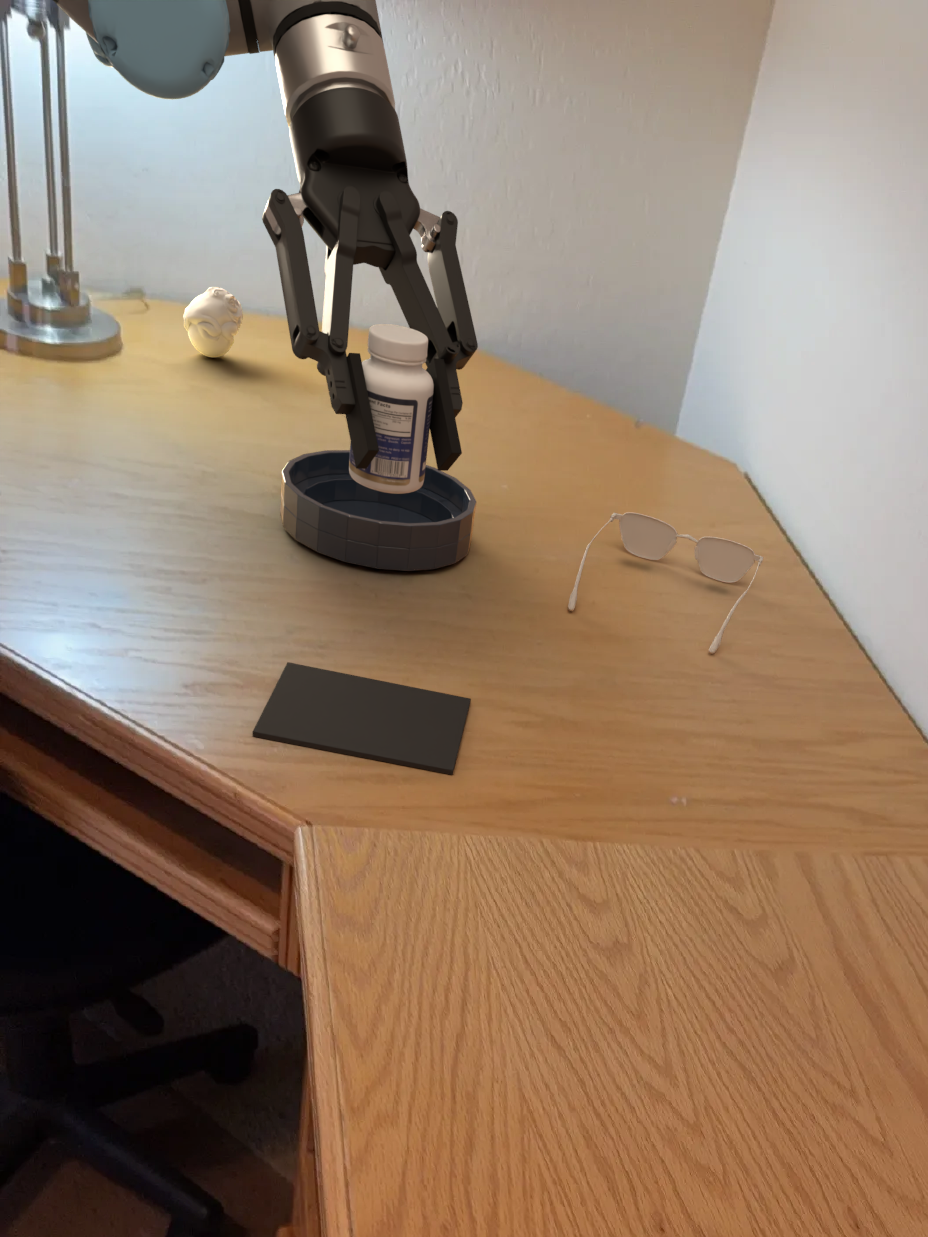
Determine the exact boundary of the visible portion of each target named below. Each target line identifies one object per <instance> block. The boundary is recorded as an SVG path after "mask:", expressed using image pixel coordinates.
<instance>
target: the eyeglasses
mask: <svg viewBox="0 0 928 1237" xmlns="http://www.w3.org/2000/svg"><path fill="white" fill-rule="evenodd" d="M614 520H617V521H618V527H619V532H620V533H619V534H620V537H621V541H622V544H623V547H624V550H626V551H627V552H628V553H630V554H631V555H633V556H635V557H638V558H641V559H645V560H650V561H660V560H662V559H663V558H665V556H666V555H667V554H668V553H670V552H671V551H672V550H673V549H674V548H675V547H676V544H677V542H678V541H677V539H678V538H682V539H688V540H689V541H692V542H694V543H696V545H695V546H694V551H693V552H694V553H693V554H694V559H695V560H697V561H696V562H697V564H698V568H699V570H700V572H701V573H702V574H703V575H704V576H706V577H707V578H709V579H713V580H715V581H718V582H722V583H729V584H733V583H737V582H739V581H740V580H741V579H742V578H744V576H746V574H747V573H748V572H749V571H750V570H751V568H752V567H753V566H754V564H755V563H756V562H757V566H756V569H755V573H754V575H753V578H751V581H750V583H749V585H748V587H747V589H746V590H745V591H744V592H743V593H742V594H741V596H740V597H739V598H737V600H736V601H735V602H734V604H733V606H732V607H731V609H730V611H729V613H728V615H727V616H726V618H725V619H724V621H723V623H722V625H721V627H720V629H719V631H718V632H717V634H716V635H715V637H714V638H713V640H712V643H711V644H710V646H709V648H708V653H709V654H711V655H714V654H715V653H716V652H717V650H718V649H719V648H720V646H721V643H722V637H723V635H724V632H725V630H726V628H727V626H728V624H729V622H730V620H731V617H732V615H733V614H734V612H735V611H736V608H737V606H738V605H739V604H740V602H741V601H742V599H744V598H745V596H746V595H747V594H748V591H749V589H750V588H751V586H752V584H753V582H754V580H755V578H756V576H757V573H758V571H759V567H761V565H762V563H763V562H764V556H762V555H760V554H756V553H755V551H754V550H753V549H752V548H751V547H749V546H747V545H745V544H743V543H740V542H738V541H734V540H731V539H728V538H723V537H717V536H709V535H708V536H702V537H700V538H699V539H696V538H695V537H694V536H692V535H691V534H687V533H686V534H684V533H683V534H678V531H677V530H676V528H675V527H674V526H673V525H672V524H669V523H668V522H666V521H664V520H661V519H659V518H657V517H653V516H651V515H647V514H643V513H639V512H634V511H633V512H632V511H631V512H630V511H627V512H624V513H623V514H621V513H617V512H613V513H612V514H611V515H610V516H609V520H608V521H607V522H606V523H605V524H603V526H602V527H601V528H600V529H599V530H598V532H597V533H596V534H595V535H594V537H592V539H591V541H590V542H589V543H588V544H587V545H586V548H585V550H584V553H583V555H582V559H581V562H580V565H579V568H578V572H577V575H576V579H575V582H574V586H573V589H572V591H571V593H570V595H569V598H568V604H567V610H568V611H570V612H573V611H574V610H575V608H576V605H577V601H578V590H579V585H580V582H581V576H582V573H583V568H584V566H585V561H586V559H587V556H588V552H589V549H590V547H591V545H592V543H593V542H594V540H595V539H596V537H597V536H598V535H599V534H600V533H601V532H602V530H604V528H605V527H606V526H608V525H609V523H613V522H614Z"/></svg>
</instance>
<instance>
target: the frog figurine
mask: <svg viewBox="0 0 928 1237" xmlns="http://www.w3.org/2000/svg"><path fill="white" fill-rule="evenodd" d="M182 318H183V328H184V330H186V331H187V335H188V339H189V341H190V343H191V345H192V346H193V347H194V349H195V350H196V351H197V352H198V353H200V354H201V355H203V356H205V357H208V358H220V357H223V356H224V355H225V354H227V353H228V352H229V351H230V349H231V348H232V346H234V343H235V339H234V336H237V335H238V334H239V330H240V328H241V326H242V324H243V319H244V312H243V307H242V304H241V302H240V301H239V300H238V299H237V298H236V297H235V296H234V295H233V294H232V293H230V292H229V291H228V290H226V289H224V288H222V287H219V286H209V287H208V288H207V289H206V290H205V292H203V293H201V294H199V295H197V296H196V297H195V298H193V300H192V301H191V302H190V303H189V304H188V306H186V308H184V313H183V315H182Z"/></svg>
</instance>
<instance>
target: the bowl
mask: <svg viewBox="0 0 928 1237" xmlns="http://www.w3.org/2000/svg"><path fill="white" fill-rule="evenodd" d="M349 457H350V449H336V450H335V449H333V450H332V449H330V450H328V449H327V450H325V449H324V450H320V451H315V452H309V453H308V452H307V453H303V454H301V455H299V456H297V457H295V458H292V459H290V460H288V461H287V462H286V464H285V466H284V467H283V469H282V470H281V481H280V482H281V483H280V484H281V485H280V490H281V491H280V512H279V513H280V515H279V516H280V519H281V523H282V528H283V529H284V530H285V531H286V532H287V533H288V534H289V535H290V536H291V537H292V538H293V539H294V540H295V541H297V542H298V543H300V544H302V545H304V546H305V547H307V548H309V549H311V550H313V551H314V552H316V553H318V554H321V555H323V556H326V557H330V558H332V559H335V560H338V561H341V562H344V563H347V564H348V563H349V564H353V565H358V566H362V567H367V568H372V569H377V570H378V569H379V570H390V571H403V572H404V571H405V572H406V571H407V572H413V571H427V570H428V571H429V570H436V569H439V568H443V567H447V566H451V565H455V564H457V563H458V562H459V561H461V560H462V559H463V558H465V557H466V556H468V554H469V552H470V548H471V545H472V540H473V530H474V523H475V515H476V508H477V500H476V498H475V495H474V494H473V492H472V490H471V489H470V488H469V487H468V486H467V485H465V483H463V482H462V481H460V480H459V479H458V478H456V477H454V476H452V475H450V474H449V473H446V472H445V471H441V470H438V468H437V467H434V466H431V465H428V464H426V468H425V477H424V482H423V485H422V487H421V488H420V489H418V490H416V491H414V492H410V493H403V494H393V493H386V492H381V491H377V490H373V489H370V488H368V487H365V486H363V485H361V484H359V483H357V482H356V481H355V480H354V479H353V478H352V477H351V475H350V473H349Z"/></svg>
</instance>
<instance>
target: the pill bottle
mask: <svg viewBox="0 0 928 1237" xmlns="http://www.w3.org/2000/svg"><path fill="white" fill-rule="evenodd" d="M427 349H428V338H427V336H426V335H424V334H423V333H421V332H419V331H417V330H414V329H411V328H409V327H407V326H403V325H400V324H399V325H398V324H391V323H378V324H372V325H371V326H370V327H369V328H368V336H367V352H368V354H369V355H370V357H369V358H367V359H364V360H361V361H362V366H363V372H364V377H365V382H366V387H367V392H368V397H369V402H370V407H371V412H372V417H373V423H374V428H375V433H376V438H377V443H378V448H379V451H378V453H377V454H376V456H375V457H374V459H373V460H372V461H371V463H370V464H369V466H368V467H367V469H356V466H355V460H354V455H353V450H352V445H351V442H350V444H349V445H350V446H349V450H350V457H349V473H350V475H351V477H352V478H353V479H354V480H355V481H356V482H357V483H359V484H361V485H363V486H365V487H368V488H370V489H373V490H377V491H381V492H386V493H393V494H403V493H410V492H414V491H416V490H418V489H420V488H421V487H422V485H423V482H424V477H425V468H426V465H427V458H428V447H429V439H430V421H431V411H432V402H433V390H434V383H433V380H432V377H431V376H430V374H429V373H428V372H427V371H426V369H425V368H424V367H423V365H424V364H426V363H425V362H426V358H427Z"/></svg>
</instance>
